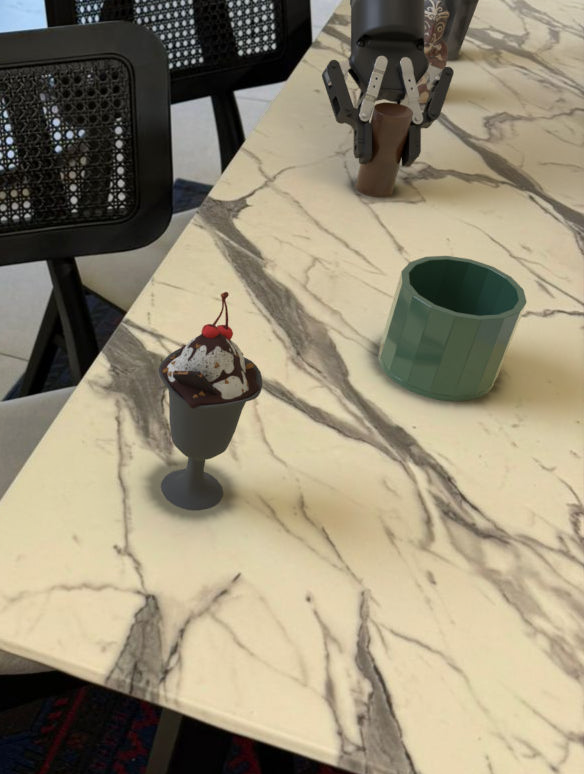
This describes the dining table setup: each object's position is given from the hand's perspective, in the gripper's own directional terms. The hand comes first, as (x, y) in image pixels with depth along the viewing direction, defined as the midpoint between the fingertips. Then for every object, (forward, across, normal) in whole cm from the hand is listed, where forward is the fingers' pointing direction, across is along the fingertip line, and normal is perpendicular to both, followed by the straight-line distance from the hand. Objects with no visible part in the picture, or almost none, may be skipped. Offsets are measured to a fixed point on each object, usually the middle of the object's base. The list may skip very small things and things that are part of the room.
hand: (387, 161), depth 107 cm
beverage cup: (-30, +21, +36) cm, 52 cm away
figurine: (-19, +12, +25) cm, 34 cm away
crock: (+25, -3, -19) cm, 32 cm away
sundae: (+37, -25, -31) cm, 54 cm away
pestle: (+2, 0, +4) cm, 5 cm away
